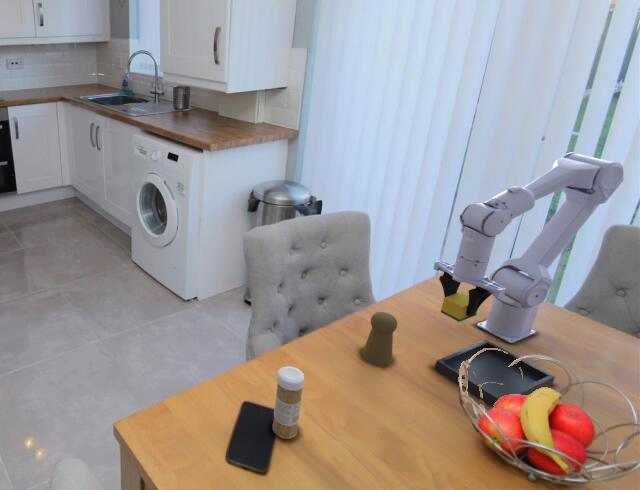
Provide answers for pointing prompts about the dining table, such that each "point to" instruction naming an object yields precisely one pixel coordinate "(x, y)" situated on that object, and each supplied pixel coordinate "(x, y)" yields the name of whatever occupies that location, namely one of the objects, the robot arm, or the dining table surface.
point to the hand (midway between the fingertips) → (459, 309)
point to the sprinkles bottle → (288, 402)
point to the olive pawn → (380, 339)
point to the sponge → (456, 306)
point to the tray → (494, 372)
